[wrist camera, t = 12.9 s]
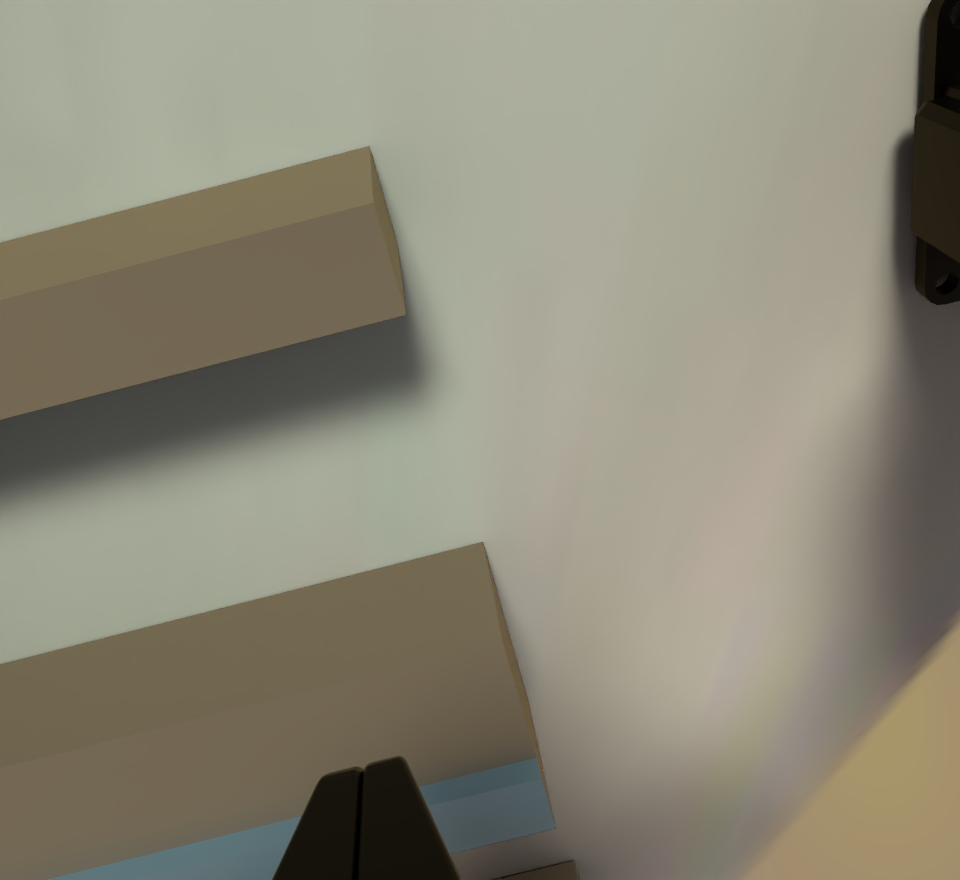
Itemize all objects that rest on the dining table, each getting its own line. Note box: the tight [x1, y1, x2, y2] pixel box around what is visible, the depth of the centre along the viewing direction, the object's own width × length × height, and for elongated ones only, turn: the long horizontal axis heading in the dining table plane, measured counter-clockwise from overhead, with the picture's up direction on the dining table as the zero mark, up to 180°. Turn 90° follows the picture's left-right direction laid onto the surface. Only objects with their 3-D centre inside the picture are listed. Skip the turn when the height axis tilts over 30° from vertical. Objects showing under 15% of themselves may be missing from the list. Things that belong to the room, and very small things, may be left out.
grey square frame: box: [0, 146, 580, 880], centre depth 22 cm, size 16×26×5 cm, turn 13°
